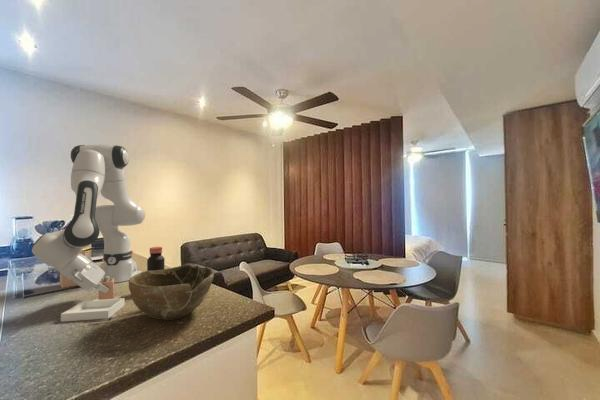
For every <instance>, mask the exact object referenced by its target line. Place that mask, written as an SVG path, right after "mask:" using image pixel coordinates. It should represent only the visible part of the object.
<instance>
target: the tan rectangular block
mask: <svg viewBox="0 0 600 400" xmlns="http://www.w3.org/2000/svg"><path fill="white" fill-rule="evenodd" d="M79 252H80V253H81V254H82V255H84V256H86V251H85V250H83V249H82V250H80V251H79ZM76 285H77V284H76V283H75V282H74V281H73V278H72V279H71V280H70V279H68V278H67V277H65V276H64V275H62V274H61V273H59V286H60V287H61V289H65V287H66V288H70V286H71V287H75V286H76ZM77 286H78V285H77Z"/></svg>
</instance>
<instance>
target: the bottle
mask: <svg viewBox="0 0 600 400" xmlns="http://www.w3.org/2000/svg"><path fill="white" fill-rule="evenodd" d="M162 253H163V247H162V246H152V247H150V248H149V257H148V258H147V263H146V264H147V265H146V271H150V270H152V271H155V270H164V269H166V268H165V257H164V256H163V255H162Z"/></svg>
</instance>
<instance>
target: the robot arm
mask: <svg viewBox="0 0 600 400" xmlns="http://www.w3.org/2000/svg"><path fill="white" fill-rule="evenodd" d="M70 159H71V163H72V168H71V174H70V188H71V189H70V190H71V191H72V192H74V195H75V205H74V210H73V211H74V213H73V217H72V218H71V220H70V222H69V223H68V224H67V225H66V227H65V228H64V229H59V230H56V231H53V232H45V233H44V234H42V235H41V236H39V238H37V240H35V241H34V243H33V244H32V246H31V253H32V254H33V255H34V256H35V257H36V258H37V259H39V260H40V261H42V263H45V264H46V265H47V266H50V267H52V268H54V269H56V271H57V272H58V273H59V274H60V273H61V274H62V275H64V276H65V277H67V278H68V279H70V280H71V279H72V278H73V281H74V282H75V283H76V284H77V286H79V287H80V288H81V289H83V290H84V291H85V292H89V293H90V292H92V291H93V290H94V289H95V290H97V291H99V290H100V291H102V292H104V293H106V292H107V291H108V290H109V288H108V287H106V286H103V285H102V284H101V283H100V281H101V280H104V277H106V276H109V279H114V284H115V283H116V284H117V283H122V282H123V283H124V282H126V281H129V280H130V278H131V277H132V276H134V275H137V274H139V273H141V272H143V271H142V270H140V269H138V263H137V262H136V261H135V259H133V258H132V255H133V254H134V251H133V250H131V239H130V236H129V235H128V234H127V233H125V232H122V231H121V230H120V228H119V226H120V227H125V226H126V227H127V226H135V225H140V224H142V223H143V222H144V220H145V217H146V212H145V209H144V208H143V207H142V206H141V205H139V204H138V203H136V202H135V200H133V199H132V197H131V196H130V194H129V191H128V188H127V181H126V175H125V171H124V168H125V167H126V166H128V164H129V160H130V156H129V153H128V150H127V149H126V148H125V147H124V146H122V145H110V144H87V145H85V144H79V145H76V146H74V147H73V148H72V149H71V151H70ZM100 194H101V196H102V198H104V199H106V200H109V201H111V202H112V203H113V204H102V205H97V202H98V201H97V200H98V197H99V195H100ZM100 234H101V235H102V238H103V245H104V250H103V251H104V253H103V255H102V260H103V262H101V264H100V266H99V265H98V264H96V263H95V262H94V261H93V259H92V258H91V257H89V256H86V255H85V256H84V255H82V254H81V253H80V252H79V251H80V250H83V249H85V248H88V247H89V246H90V245H92V244H94V243H95V242H96V241H97V240H98V239H99V236H100Z"/></svg>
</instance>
